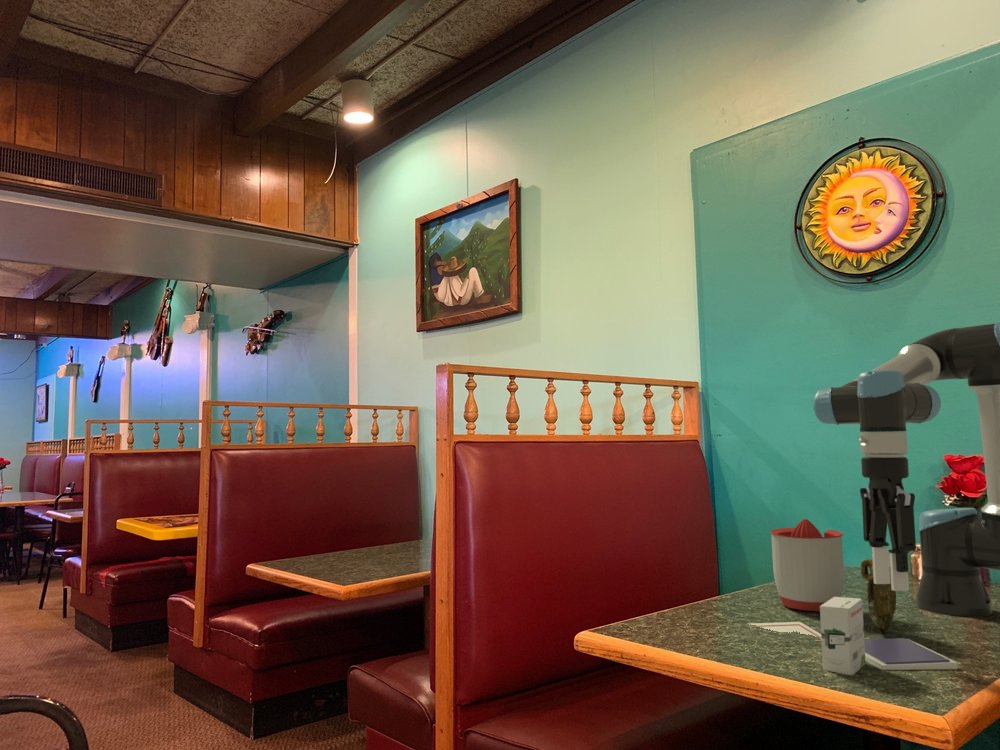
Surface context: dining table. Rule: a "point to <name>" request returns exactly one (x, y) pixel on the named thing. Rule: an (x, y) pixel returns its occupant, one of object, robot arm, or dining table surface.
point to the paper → (788, 628)
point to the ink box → (842, 635)
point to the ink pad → (904, 655)
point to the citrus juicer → (807, 565)
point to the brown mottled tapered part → (879, 599)
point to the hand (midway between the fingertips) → (890, 586)
